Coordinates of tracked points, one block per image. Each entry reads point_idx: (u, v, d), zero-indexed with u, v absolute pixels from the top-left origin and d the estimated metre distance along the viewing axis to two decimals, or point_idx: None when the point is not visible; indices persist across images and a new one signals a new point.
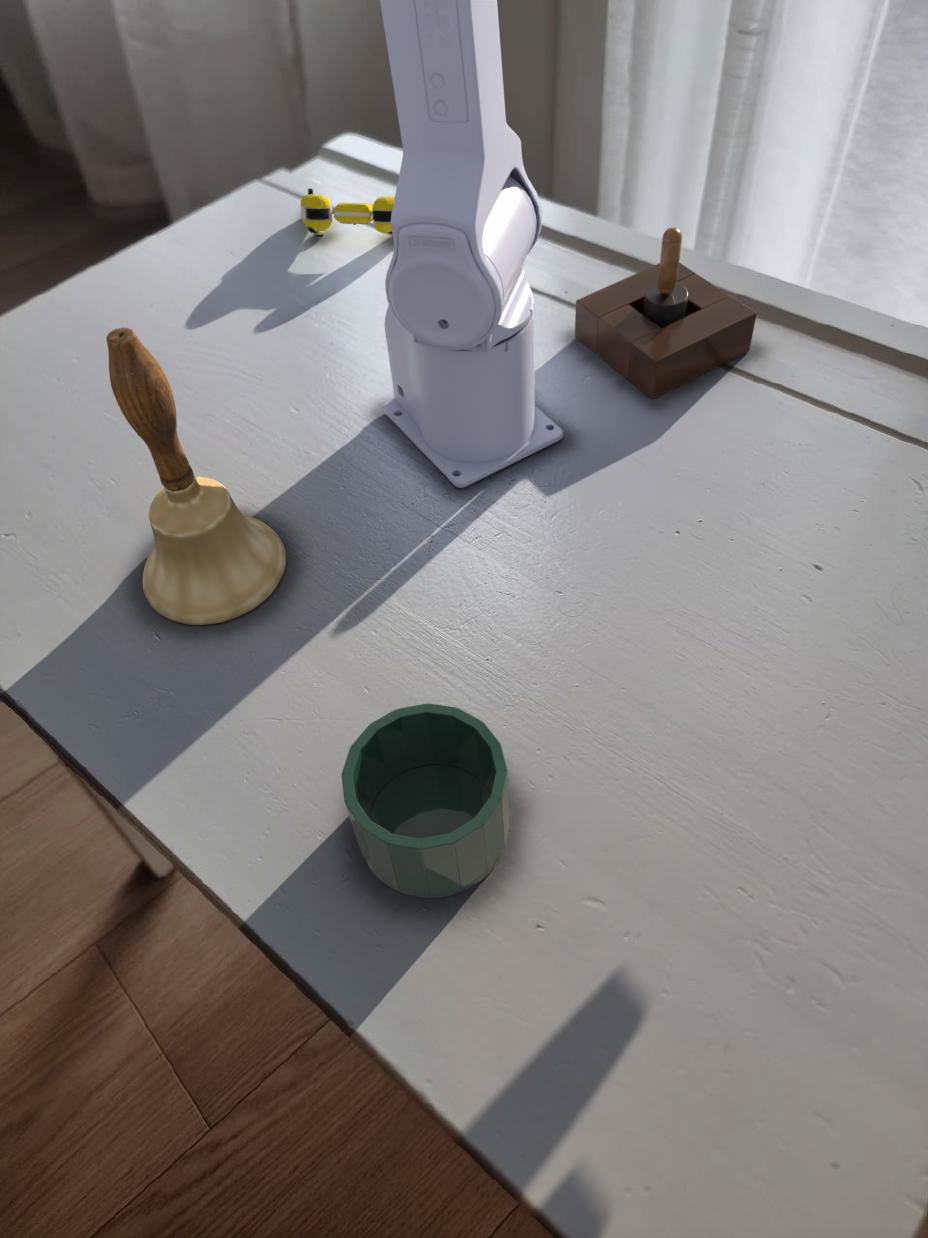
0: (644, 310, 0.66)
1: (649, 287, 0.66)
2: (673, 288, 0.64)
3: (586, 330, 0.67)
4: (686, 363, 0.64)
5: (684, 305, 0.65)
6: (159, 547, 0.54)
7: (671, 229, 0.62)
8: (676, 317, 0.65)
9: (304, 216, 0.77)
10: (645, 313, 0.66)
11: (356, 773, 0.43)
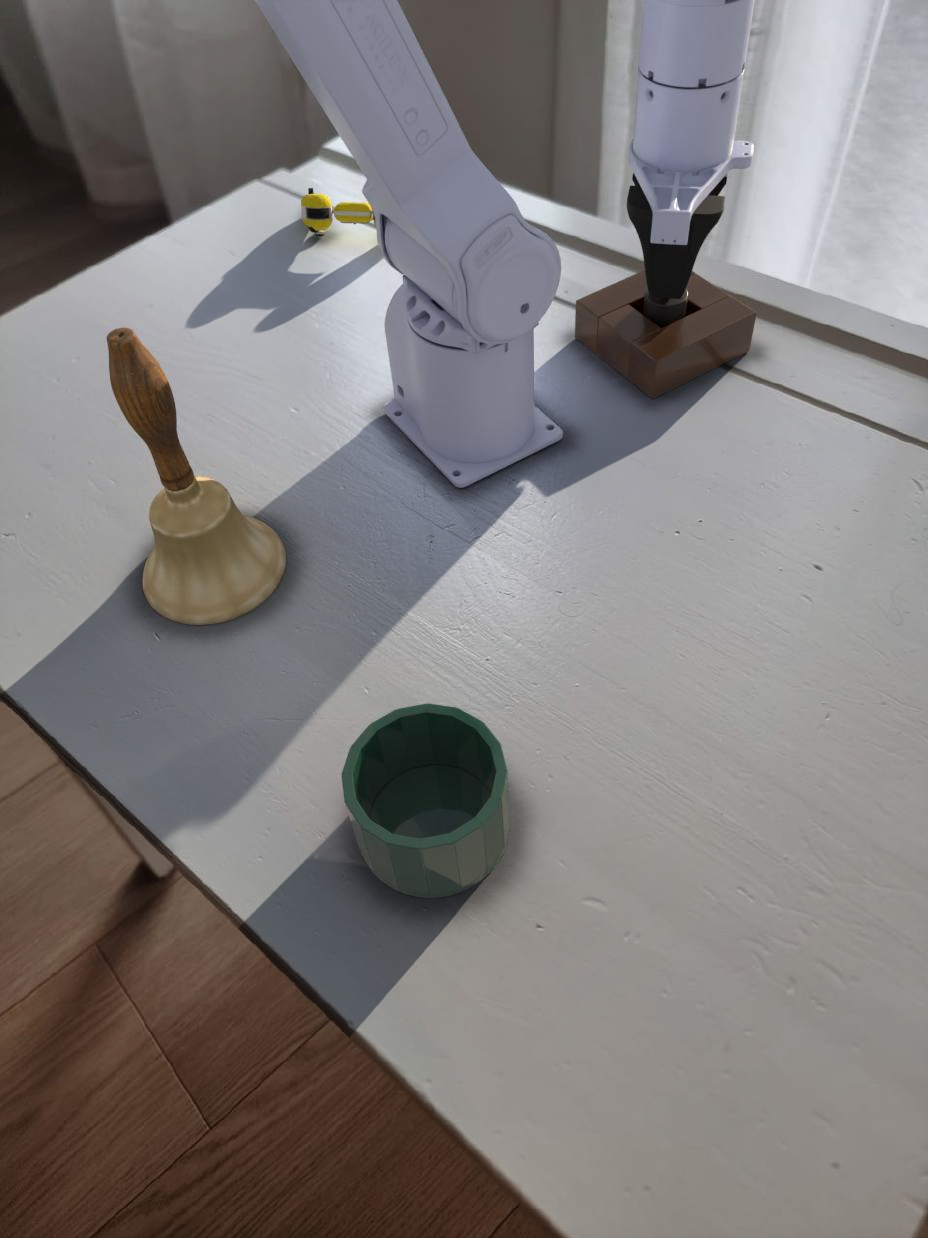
0: (644, 310, 0.66)
1: None
2: None
3: (586, 330, 0.67)
4: (686, 363, 0.64)
5: (684, 305, 0.65)
6: (159, 547, 0.54)
7: None
8: (676, 317, 0.65)
9: (304, 216, 0.77)
10: (645, 313, 0.66)
11: (356, 773, 0.43)
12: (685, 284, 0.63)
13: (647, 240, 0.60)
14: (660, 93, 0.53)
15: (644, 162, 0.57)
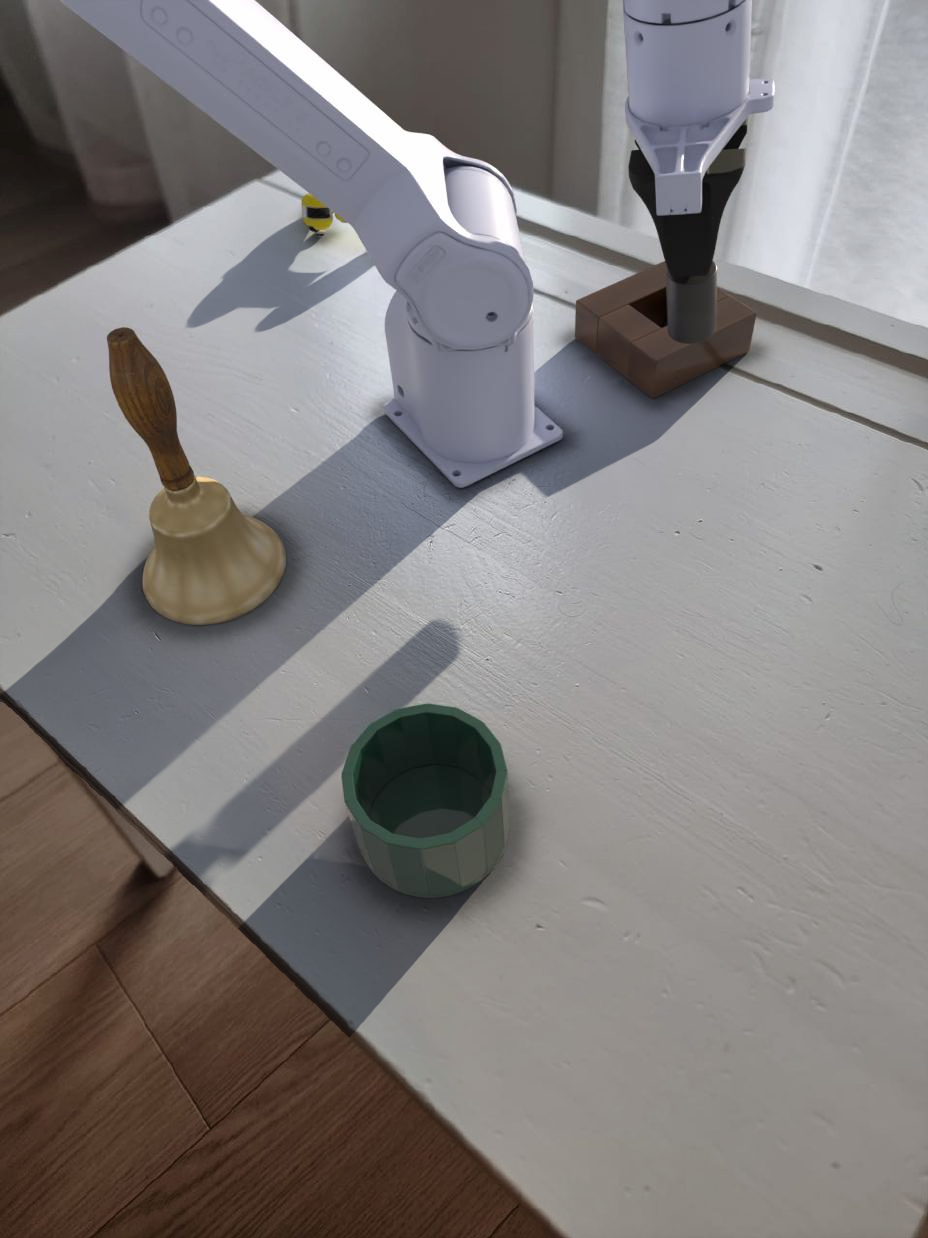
0: (667, 292, 0.57)
1: None
2: None
3: (586, 330, 0.67)
4: (686, 363, 0.64)
5: (713, 282, 0.55)
6: (159, 547, 0.54)
7: None
8: (705, 296, 0.56)
9: (305, 215, 0.77)
10: (669, 295, 0.56)
11: (356, 773, 0.43)
12: (710, 257, 0.53)
13: None
14: (651, 34, 0.44)
15: (643, 120, 0.48)
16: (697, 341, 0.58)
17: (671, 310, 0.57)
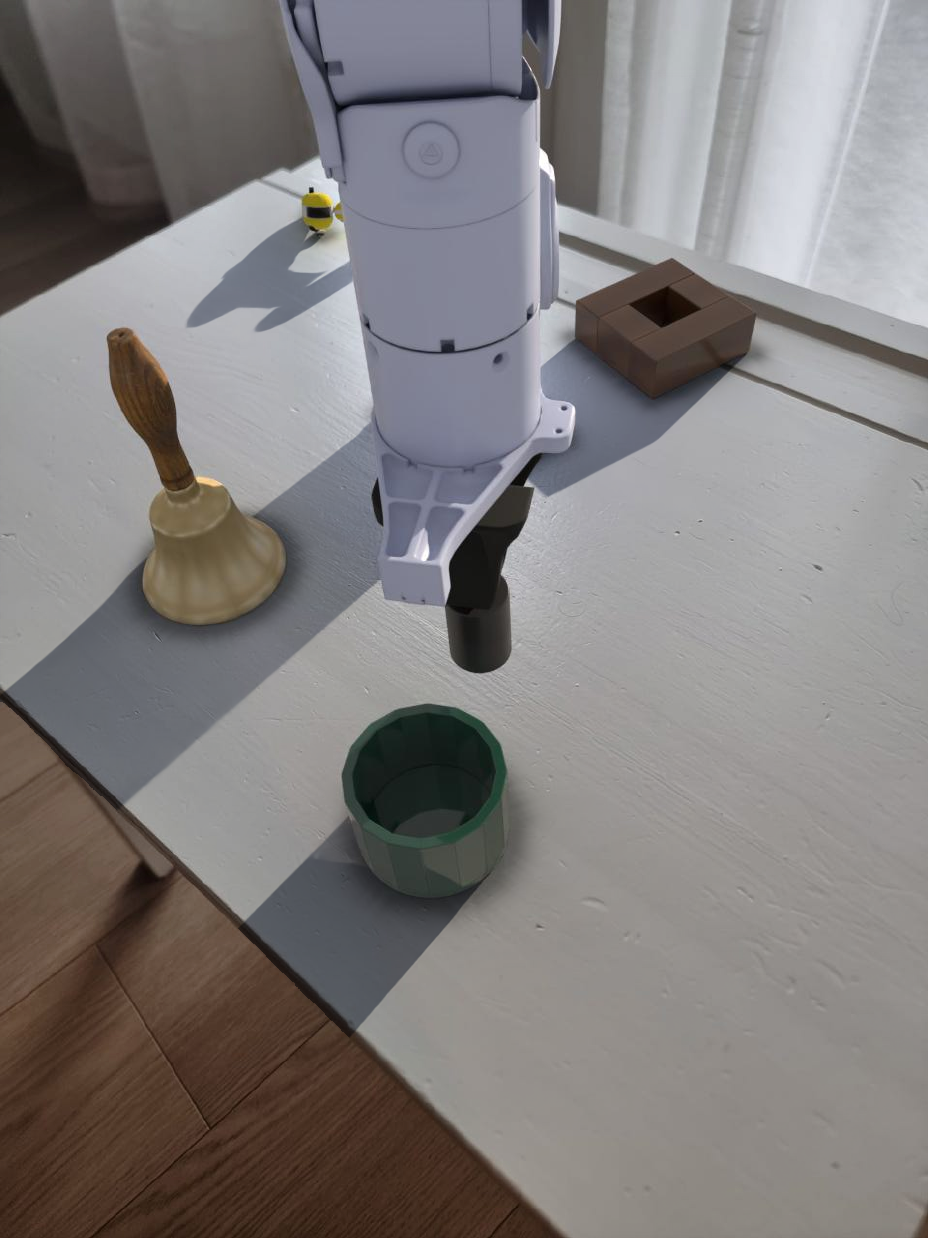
0: (445, 613, 0.43)
1: None
2: None
3: (586, 330, 0.67)
4: (686, 363, 0.64)
5: (502, 613, 0.42)
6: (159, 547, 0.54)
7: None
8: (492, 629, 0.42)
9: (305, 215, 0.77)
10: (447, 618, 0.43)
11: (356, 773, 0.43)
12: (493, 594, 0.40)
13: None
14: (387, 354, 0.30)
15: (388, 444, 0.34)
16: (483, 672, 0.44)
17: (450, 634, 0.43)
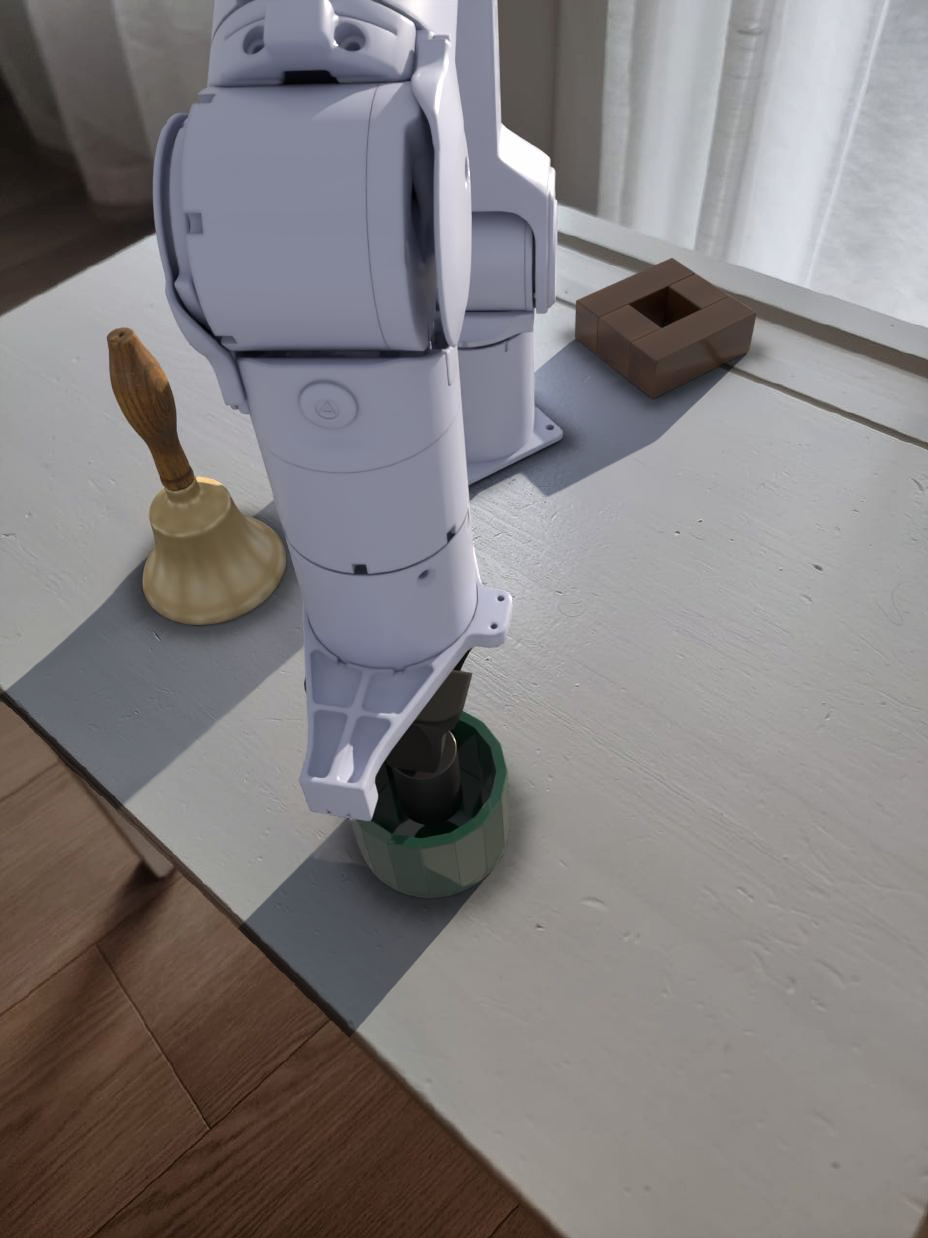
0: (392, 769, 0.42)
1: None
2: None
3: (586, 330, 0.67)
4: (686, 363, 0.64)
5: (449, 773, 0.41)
6: (159, 547, 0.54)
7: None
8: (438, 788, 0.41)
9: None
10: (393, 774, 0.42)
11: None
12: (436, 761, 0.39)
13: None
14: (309, 569, 0.29)
15: (318, 639, 0.33)
16: (432, 824, 0.43)
17: (397, 788, 0.42)
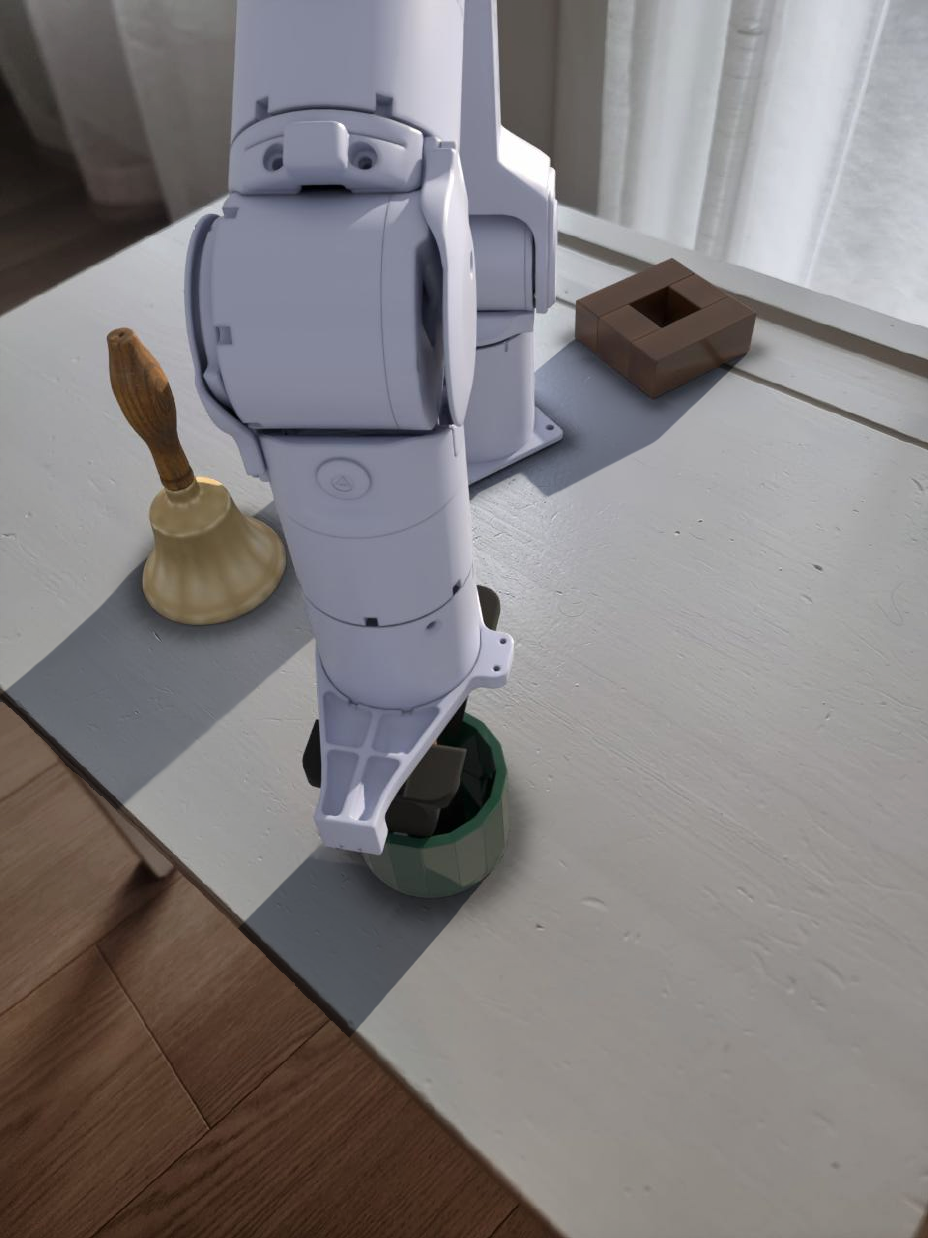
0: None
1: None
2: None
3: (586, 330, 0.67)
4: (686, 363, 0.64)
5: (453, 801, 0.43)
6: (159, 547, 0.54)
7: None
8: (443, 816, 0.43)
9: None
10: None
11: None
12: (432, 827, 0.40)
13: None
14: (323, 620, 0.31)
15: (330, 681, 0.34)
16: None
17: None
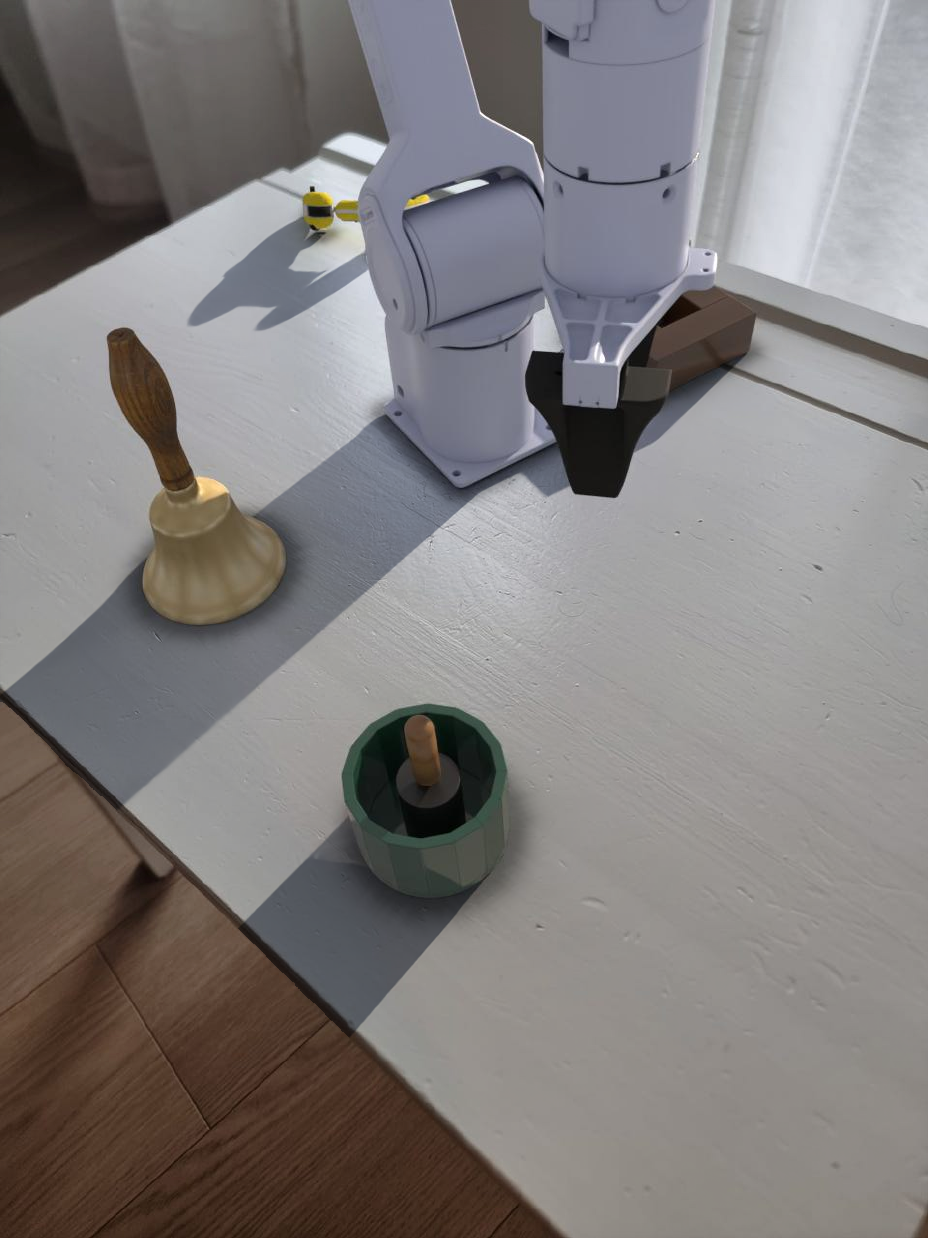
0: None
1: (405, 765, 0.43)
2: (434, 781, 0.42)
3: None
4: (686, 363, 0.64)
5: (453, 801, 0.43)
6: (159, 547, 0.54)
7: (414, 722, 0.39)
8: (443, 816, 0.43)
9: (306, 214, 0.77)
10: (400, 802, 0.43)
11: (356, 773, 0.43)
12: (621, 481, 0.43)
13: (560, 428, 0.41)
14: (572, 189, 0.36)
15: (558, 282, 0.39)
16: None
17: (403, 815, 0.44)
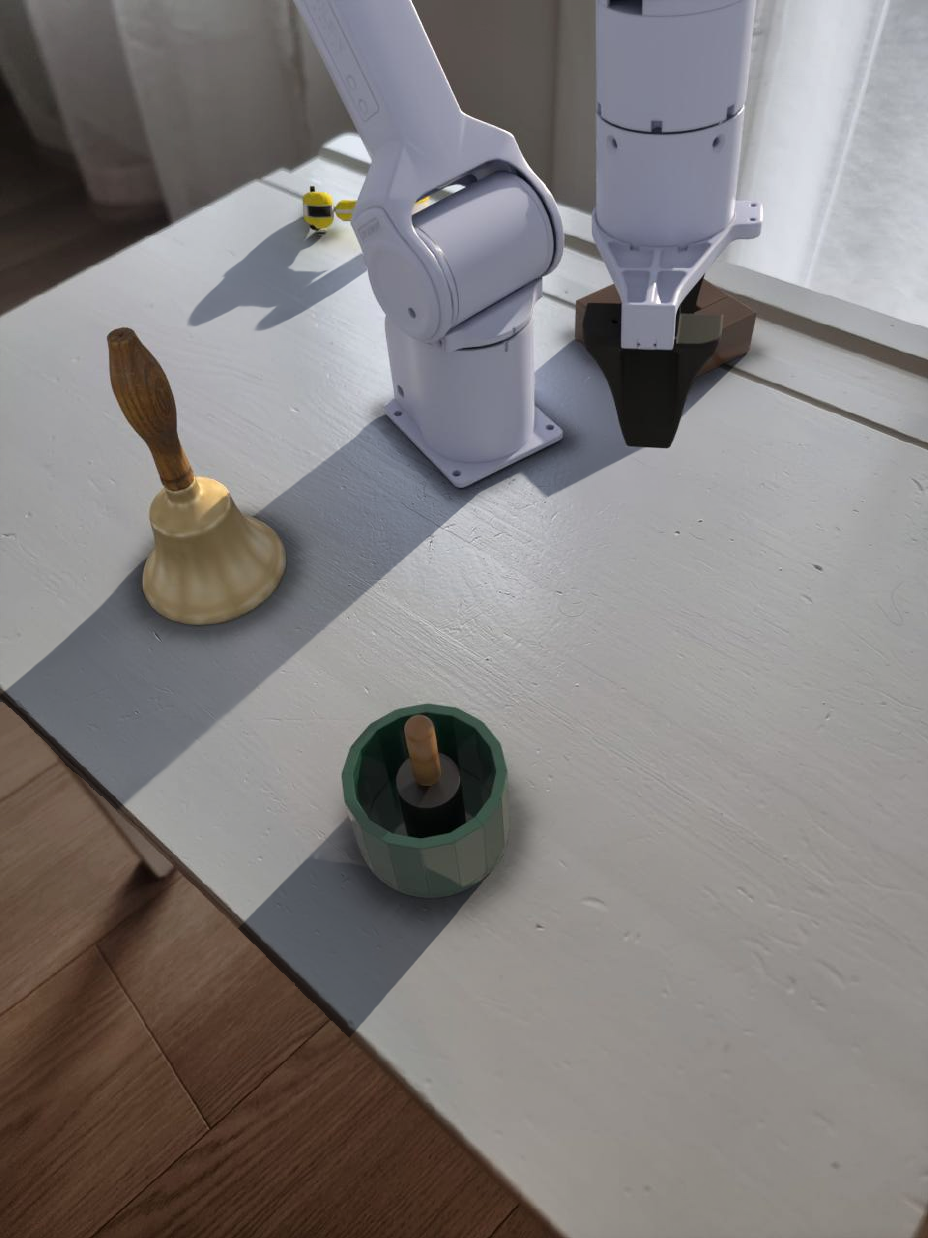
0: None
1: (405, 765, 0.43)
2: (434, 781, 0.42)
3: None
4: None
5: (453, 801, 0.43)
6: (159, 547, 0.54)
7: (414, 722, 0.39)
8: (443, 816, 0.43)
9: (306, 214, 0.77)
10: (400, 802, 0.43)
11: (356, 773, 0.43)
12: (674, 430, 0.45)
13: (615, 377, 0.42)
14: (626, 142, 0.38)
15: (611, 236, 0.41)
16: None
17: (403, 815, 0.44)
